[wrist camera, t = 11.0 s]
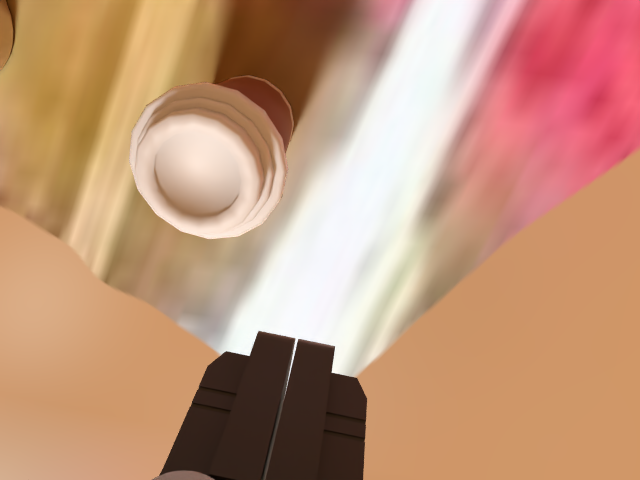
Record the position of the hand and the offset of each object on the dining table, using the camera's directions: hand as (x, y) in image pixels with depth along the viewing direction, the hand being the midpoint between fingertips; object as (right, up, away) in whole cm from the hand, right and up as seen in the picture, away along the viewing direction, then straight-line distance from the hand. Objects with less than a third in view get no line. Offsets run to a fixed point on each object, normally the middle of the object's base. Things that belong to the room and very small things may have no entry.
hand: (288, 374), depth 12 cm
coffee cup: (-4, +11, +32) cm, 34 cm away
